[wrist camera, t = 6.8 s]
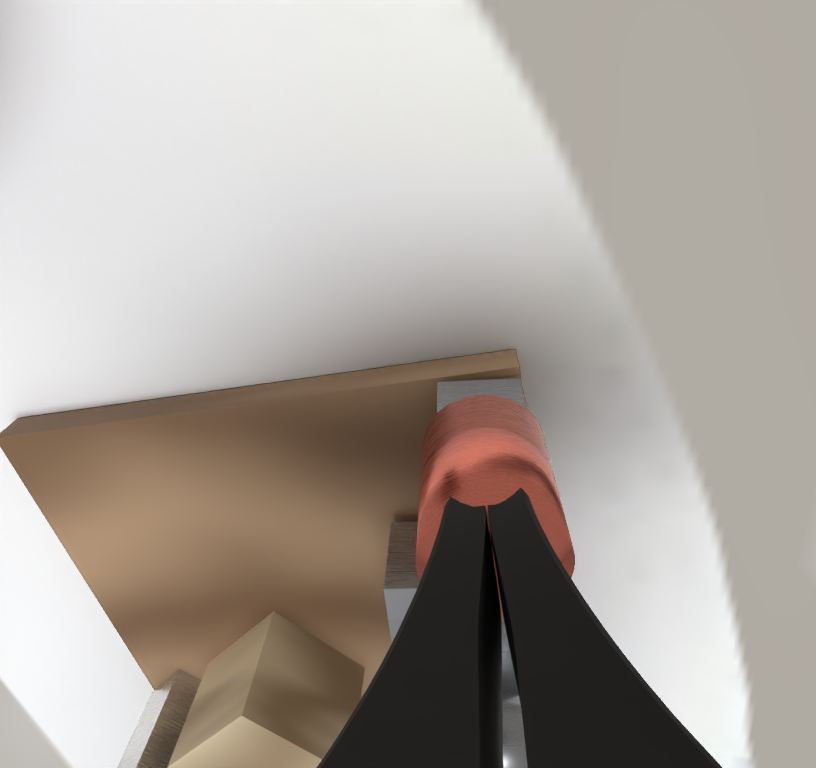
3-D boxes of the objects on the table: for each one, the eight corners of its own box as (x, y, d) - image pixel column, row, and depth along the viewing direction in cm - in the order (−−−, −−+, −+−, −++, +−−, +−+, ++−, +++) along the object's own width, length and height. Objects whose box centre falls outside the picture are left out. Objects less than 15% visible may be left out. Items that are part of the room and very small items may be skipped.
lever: (545, 719, 21) (572, 894, 16) (417, 718, 21) (410, 890, 17) (562, 361, 14) (617, 500, 9) (371, 371, 14) (339, 509, 10)
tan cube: (365, 667, 20) (351, 774, 17) (295, 713, 22) (271, 819, 19) (273, 611, 19) (241, 715, 16) (207, 663, 21) (167, 767, 18)
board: (555, 728, 23) (559, 754, 22) (213, 745, 25) (205, 770, 24) (515, 349, 15) (519, 366, 14) (17, 418, 17) (-6, 437, 16)
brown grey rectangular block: (290, 727, 22) (266, 832, 19) (261, 747, 23) (233, 852, 20) (179, 668, 21) (133, 772, 18) (152, 692, 22) (104, 795, 19)
